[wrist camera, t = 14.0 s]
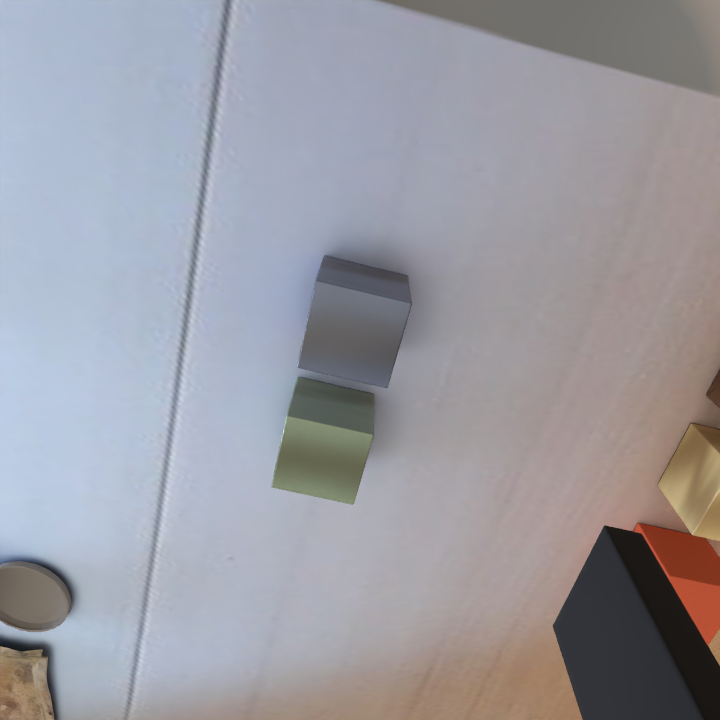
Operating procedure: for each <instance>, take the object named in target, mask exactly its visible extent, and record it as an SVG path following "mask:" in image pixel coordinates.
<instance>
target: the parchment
mask: <svg viewBox="0 0 720 720" xmlns="http://www.w3.org/2000/svg"><path fill="white" fill-rule="evenodd" d="M42 651H43V649H42V650H30V651H22V652H21V651H17V650H13V649H9V648H6V647H2V646H0V720H54V714H53V707H52V701H51V696H50V692H49V689H48V684H47V677H46V675H47V665H48V663H47V662H48V656H45V655H44V654H43V653H42Z"/></svg>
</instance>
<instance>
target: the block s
mask: <svg viewBox="0 0 720 720" xmlns="http://www.w3.org/2000/svg"><path fill="white" fill-rule="evenodd" d="M633 532H637V533H642V535H643V536H644V538H645V540H646V541H647V543H648V545H649V547H650V548H651V550H652V552H653V553H654V555H655V557H656V559H657V560H658V562H659V564H660V565H661V567H662V569H663V570H664V572H665V574H666V576H667V577H668V579H669V581H670V582H671V584H672V586H673V587H674V589H675V591H676V593H677V594H678V596H679V598H680V599H681V601H682V603H683V604H684V606H685V608H686V610H687V611H688V613H689V615H690V616H691V618H692V620H693V621H694V623H695V625H696V627H697V628H698V630H699V632H700V633H701V635H702V637H703V638H704V640H705V642H706V644H707V645H709V643H710V642H711V640H712V639H713V637H714V636H715V634H716V633H717V631H718V630H719V628H720V557H719V556H718V555H717V553H716V552H715V551H714V549H713V548H712V546H711V545H710V544H709V542H708V541H707V539H706V538H703V537H698V536H694V535H691V534H687V533H682V532H678V531H673V530H668V529H664V528H659V527H654V526H650V525H645V524H641V523H638V524H637V526H636V528H635V530H634V531H633Z"/></svg>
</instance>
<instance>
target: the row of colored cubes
mask: <svg viewBox="0 0 720 720" xmlns="http://www.w3.org/2000/svg"><path fill="white" fill-rule="evenodd" d="M707 397H708V398H709V399H710V400H711V401H713V402H714V403H715V404H716V405H717V406H718V407H719V408H720V371H719V373H718V375H717V376H716V378H715V380H714V382H713V384H712V386H711V387H710V389H709V391H708V393H707ZM658 487H659V488H660V490H661V491H662V493H663V494H664V495H665V497H666V498H667V500H668V501H669V503H670V504H671V505H672V507H673V508H674V510H675V511H676V513H677V514H678V515H679V517H680V518H681V520H682V521H683V523H684V524H685V525H686V527H687V528H688V530H689V531H690V533H691V534H692V535H694V536H698V537H703V538H708V539H712V540H717V541H720V430H718V429H714V428H710V427H705V426H701V425H697V424H692V423H691V424H690V426H689V428H688V430H687V432H686V433H685V435H684V437H683V439H682V441H681V443H680V445H679V446H678V448H677V450H676V452H675V454H674V456H673V457H672V459H671V461H670V463H669V465H668V467H667V469H666V470H665V472H664V474H663V476H662V478H661V480H660V481H659V483H658Z"/></svg>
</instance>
